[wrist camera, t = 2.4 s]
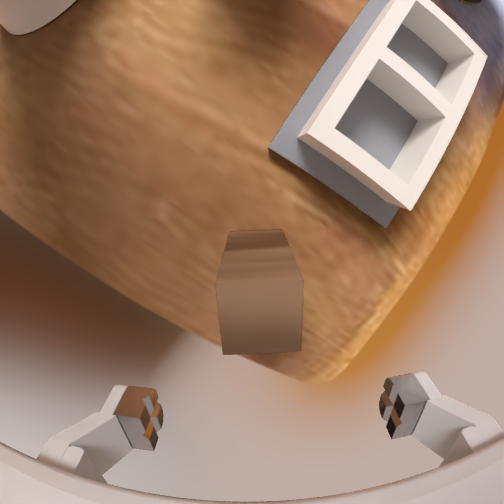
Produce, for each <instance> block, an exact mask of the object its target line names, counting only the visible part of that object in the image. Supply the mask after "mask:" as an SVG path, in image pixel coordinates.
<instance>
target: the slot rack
mask: <svg viewBox="0 0 504 504" xmlns="http://www.w3.org/2000/svg"><path fill="white" fill-rule="evenodd" d="M486 59H487V55H486V54H485V53H484V52H483V50H482V49H481V48H480V47H479V46H478V45H477V44H476V43H475V42H474V41H473V40H472V39H471V38H470V36H469V35H468V34H467V33H466V32H465V31H464V30H463V29H462V28H461V27H460V26H458V25H457V24H456V23H455V22H454V21H453V20H452V19H451V18H450V17H449V16H448V15H447V14H446V13H444V12H443V11H442V10H441V9H440V8H439V7H438V6H436V5H435V4H434V3H433V2H432V1H430V0H369V2H368V3H367V4H366V6H365V7H364V9H363V10H362V11H361V13H360V14H359V15H358V17H357V18H356V19H355V21H354V22H353V23H352V25H351V26H350V28H349V29H348V30H347V32H346V33H345V34H344V36H343V37H342V39H341V40H340V41H339V43H338V44H337V46H336V47H335V49H334V50H333V51H332V53H331V54H330V56H329V57H328V58H327V60H326V61H325V63H324V64H323V66H322V67H321V69H320V70H319V71H318V73H317V74H316V76H315V77H314V79H313V80H312V82H311V83H310V85H309V86H308V88H307V89H306V91H305V92H304V94H303V95H302V96H301V98H300V99H299V101H298V102H297V104H296V105H295V107H294V109H293V110H292V112H291V113H290V115H289V116H288V118H287V119H286V121H285V122H284V124H283V125H282V127H281V128H280V130H279V131H278V133H277V135H276V136H275V138H274V139H273V141H272V142H271V144H270V145H269V147H268V148H269V149H270V150H272V151H274V152H275V153H277V154H278V155H280V156H282V157H283V158H285V159H286V160H288V161H290V162H291V163H293V164H294V165H296V166H297V167H299V168H300V169H302V170H303V171H305V172H307V173H308V174H310V175H311V176H313V177H314V178H316V179H317V180H319V181H320V182H321V183H323V184H324V185H326V186H327V187H329V188H330V189H332V190H333V191H335V192H336V193H337V194H339V195H340V196H342V197H343V198H344V199H346V200H347V201H349V202H350V203H351V204H353V205H354V206H356V207H357V208H358V209H360V210H361V211H362V212H364V213H365V214H366V215H368V216H369V217H371V218H372V219H373V220H374V221H376V222H377V223H378V224H380V225H381V226H383V227H384V228H387V227H388V225H389V224H390V222H391V221H392V219H393V217H394V216H395V214H396V213H397V211H398V210H399V208H400V207H402V208H404V209H407V210H409V211H411V210H412V208H413V207H414V205H415V203H416V202H417V200H418V198H419V197H420V195H421V193H422V191H423V190H424V188H425V186H426V185H427V183H428V181H429V179H430V178H431V176H432V174H433V172H434V170H435V169H436V167H437V165H438V163H439V161H440V160H441V158H442V156H443V154H444V152H445V150H446V148H447V146H448V144H449V142H450V140H451V138H452V136H453V134H454V132H455V130H456V128H457V126H458V124H459V122H460V120H461V118H462V116H463V114H464V112H465V109H466V107H467V105H468V103H469V101H470V98H471V96H472V94H473V91H474V89H475V87H476V84H477V82H478V80H479V77H480V75H481V72H482V70H483V67H484V64H485V62H486Z"/></svg>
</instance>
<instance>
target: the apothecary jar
mask: <svg viewBox="0 0 504 504" xmlns="http://www.w3.org/2000/svg"><path fill="white" fill-rule="evenodd" d="M459 1H462V2H464V3H468V4H477V3H479V2H480V1H481V0H459Z"/></svg>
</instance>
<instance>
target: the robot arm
mask: <svg viewBox="0 0 504 504" xmlns="http://www.w3.org/2000/svg"><path fill="white" fill-rule="evenodd" d="M75 1H76V0H0V24H1V25H2V26H3V27H4V28H5V29H6V30H7V31H8V32H9V33H11V34H14V35H22V34H26V33H29V32H32V31H34V30H37V29H39V28H40V27H42V26H44V25H46V24H47V23H49V22H50V21H52V20H53V19H55V18H56V17H57V16H59V15H60V14H61V13H62V12H64V11H65V10H66V9H67V8H68V7H70V6H71V5H72V4H73V3H74V2H75ZM383 387H384V389H385V391H384V392H383V393H382V394H381V397H380V401H379V409H380V414H381V416H382V418H383V419H384V420H386V421H388V423H387V426H386V428H387V430H388V432H389V435H390V437H391V439H395V438H400V437H404V436H408V435H412V436H413V437H415V438H416V439H417V440H419V441H420V442H421V443H423V444H424V445H426V446H427V447H428V448H430V449H431V450H432V451H434V452H435V453H437V454H438V455H439V456H441V457H442V458H444V461H443V462H442V463H441V465H440V466H439V467H438V468H435V469H433V470H430V471H427V472H424V473H421V474H418V475H415V476H412V477H409V478H406V479H402V480H399V481H396V482H392V483H388V484H384V485H381V486H376V487H372V488H368V489H363V490H359V491H354V492H349V493H343V494H337V495H331V496H324V497H316V498H308V499H298V500H286V501H268V502H226V501H208V500H196V499H186V498H177V497H170V496H163V495H157V494H151V493H145V492H140V491H135V490H130V489H126V488H122V487H118V486H114V485H110V484H108V483H107V482H106V481H105V479H104V478H103V477H102V476H101V475H103V474H104V473H105V472H106V471H108V469H110V468H111V467H112V466H113V465H114V464H116V463H117V462H118V461H119V460H120V459H122V458H123V457H124V456H125V455H126V454H128V453H129V452H130V451H131V450H132V448H136V449H143V450H151V451H154V449H155V446H156V443H157V440H158V436H157V433H156V432H157V431H159V430H160V429H161V427H162V424H163V410H162V407H161V405H160V404H159V403H158V402H157V399H158V395H157V391H156V390H155V389H152V388H143V387H135V386H125V385H119V384H117V385H115V386H114V387H113V389H112V391H111V393H110V395H109V396H108V398H107V400H106V402H105V403H104V405H103V407H102V409H101V411H100V412H95V413H93V414H92V415H90V416H88V417H86V418H85V419H83V420H81V421H79V422H77V423H75V424H74V425H72V426H70V427H68V428H66V429H65V430H63V431H61V432H59V433H57V434H55V435H53V436H52V437H50V438H49V440H48V441H47V443H46V444H45V446H44V448H43V449H42V451H41V453H40V455H39V456H38V458H37V459H35V458H32V457H30V456H28V455H26V454H23V453H21V452H19V451H17V450H15V449H13V448H11V447H9V446H7V445H5V444H3V443H1V442H0V504H504V432H503V431H502V430H501V428H500V427H499V425H498V424H497V423H496V421H495V420H494V418H493V417H492V416H491V415H488V414H486V413H484V412H481V411H479V410H477V409H474V408H472V407H470V406H468V405H465V404H463V403H461V402H459V401H457V400H454V399H452V398H450V397H448V396H446V395H445V396H442V395H441V394H440V392H439V391H438V389H437V388H436V386H435V385H434V384H433V382H432V381H431V379H430V378H429V376H428V375H427V374H426V372H425V371H423V370H421V371H417V372H413V373H409V374H404V375H399V376H395V377H390V378H387V379H386V380H385V383H384V386H383Z"/></svg>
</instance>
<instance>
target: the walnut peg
mask: <svg viewBox="0 0 504 504" xmlns="http://www.w3.org/2000/svg"><path fill="white" fill-rule="evenodd" d="M303 285H304V280H303V277H302V275H301V273H300V270H299V268H298V265H297V263H296V261H295V258H294V256H293V253H292V251H291V249H290V246H289V244H288V242H287V239H286V237H285V235H284V232H283V230H282V229H273V230H249V231H230V233H229V236H228V240H227V243H226V247H225V250H224V254H223V258H222V261H221V265H220V269H219V272H218V276H217V280H216V283H215V286H216V296H217V305H218V315H219V324H220V333H221V342H222V350H223V355H233V354H263V353H282V352H297V351H301V343H302V319H303Z"/></svg>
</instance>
